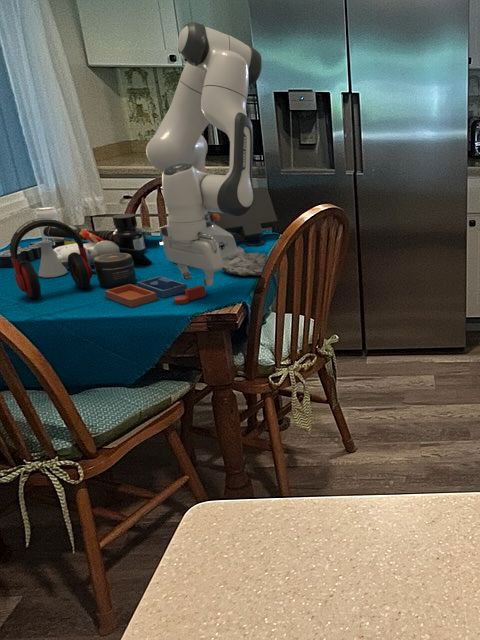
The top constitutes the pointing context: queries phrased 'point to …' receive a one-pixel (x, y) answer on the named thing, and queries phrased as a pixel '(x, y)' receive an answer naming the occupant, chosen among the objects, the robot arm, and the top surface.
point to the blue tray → (175, 290)
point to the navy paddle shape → (162, 284)
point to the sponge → (73, 242)
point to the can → (47, 213)
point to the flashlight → (61, 233)
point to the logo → (28, 252)
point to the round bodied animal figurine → (101, 250)
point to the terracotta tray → (131, 295)
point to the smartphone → (136, 255)
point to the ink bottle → (127, 232)
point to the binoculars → (71, 249)
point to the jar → (115, 269)
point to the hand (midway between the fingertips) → (198, 282)
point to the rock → (245, 263)
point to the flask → (50, 261)
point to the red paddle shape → (191, 294)
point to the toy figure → (89, 235)
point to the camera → (250, 217)
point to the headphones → (26, 271)
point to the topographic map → (143, 229)
